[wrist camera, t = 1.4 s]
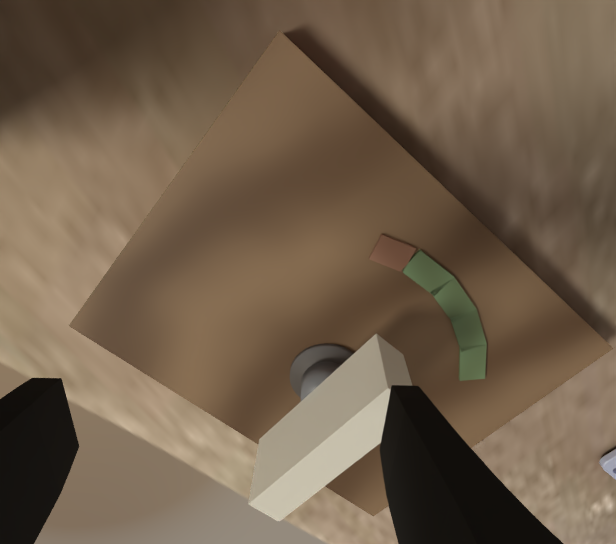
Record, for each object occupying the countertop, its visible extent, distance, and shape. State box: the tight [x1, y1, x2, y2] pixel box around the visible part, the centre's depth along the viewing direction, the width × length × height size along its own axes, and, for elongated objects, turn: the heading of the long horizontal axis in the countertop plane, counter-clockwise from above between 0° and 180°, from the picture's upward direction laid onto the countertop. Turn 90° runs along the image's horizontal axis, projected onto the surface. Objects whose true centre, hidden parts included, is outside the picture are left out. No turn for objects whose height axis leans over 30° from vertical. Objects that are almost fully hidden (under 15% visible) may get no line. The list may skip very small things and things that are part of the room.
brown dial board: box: [69, 30, 613, 516], centre depth 20 cm, size 20×16×2 cm
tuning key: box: [248, 334, 412, 522], centre depth 19 cm, size 9×8×5 cm
